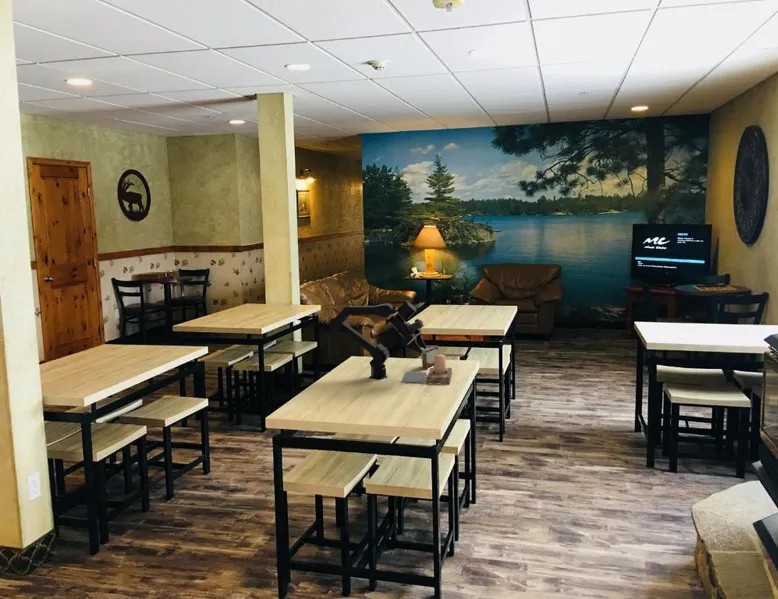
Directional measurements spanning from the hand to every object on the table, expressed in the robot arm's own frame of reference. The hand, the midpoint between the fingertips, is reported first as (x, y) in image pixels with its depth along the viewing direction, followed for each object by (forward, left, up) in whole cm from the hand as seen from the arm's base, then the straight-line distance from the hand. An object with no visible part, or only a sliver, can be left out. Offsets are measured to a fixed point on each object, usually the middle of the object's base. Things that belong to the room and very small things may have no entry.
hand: (424, 350), depth 303 cm
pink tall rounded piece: (+5, +5, -14) cm, 16 cm away
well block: (+5, +5, -14) cm, 16 cm away
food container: (-13, +21, -14) cm, 28 cm away
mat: (-5, -1, -14) cm, 15 cm away
